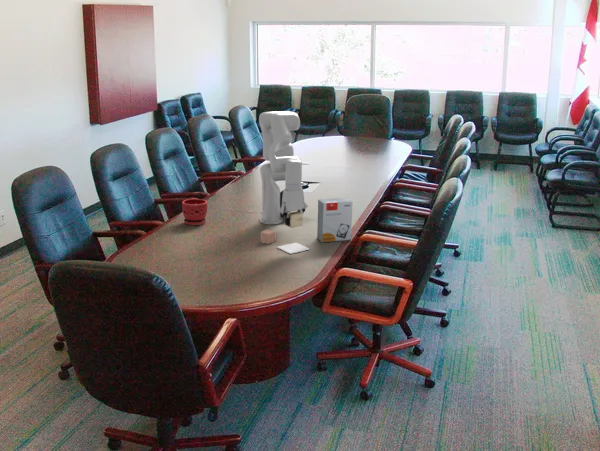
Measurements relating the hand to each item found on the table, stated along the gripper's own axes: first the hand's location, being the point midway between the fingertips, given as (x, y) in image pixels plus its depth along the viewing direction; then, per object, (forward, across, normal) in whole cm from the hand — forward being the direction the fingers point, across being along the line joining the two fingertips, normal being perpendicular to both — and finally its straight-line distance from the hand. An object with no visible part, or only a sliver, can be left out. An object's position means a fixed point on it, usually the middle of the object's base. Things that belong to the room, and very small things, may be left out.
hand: (293, 223), depth 306 cm
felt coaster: (+13, 0, 0) cm, 13 cm away
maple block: (+1, 0, 0) cm, 1 cm away
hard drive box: (+13, -25, -1) cm, 28 cm away
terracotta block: (+13, +4, -16) cm, 21 cm away
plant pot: (+12, +20, -63) cm, 67 cm away
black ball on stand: (+12, -29, -47) cm, 57 cm away
